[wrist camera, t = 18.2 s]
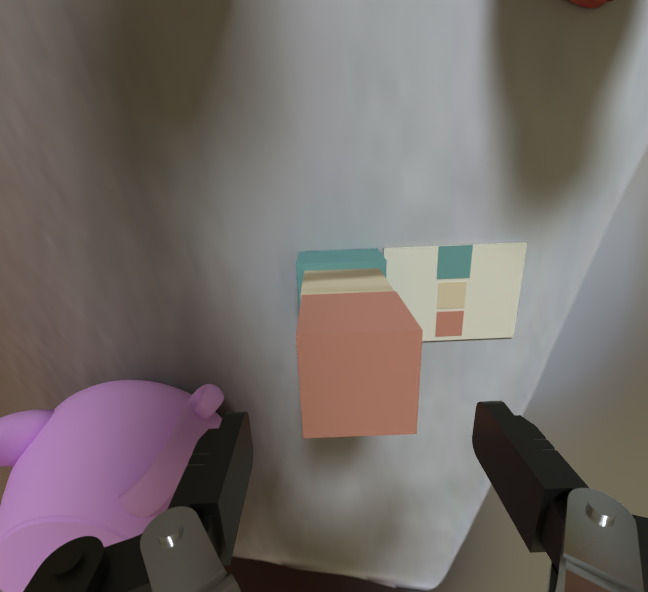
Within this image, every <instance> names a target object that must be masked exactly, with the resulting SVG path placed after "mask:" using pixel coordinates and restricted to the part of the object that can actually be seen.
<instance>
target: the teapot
mask: <svg viewBox="0 0 648 592" xmlns="http://www.w3.org/2000/svg"><path fill="white" fill-rule="evenodd" d="M223 400H224V395H223V392H222V391H221V389H220V388H219V387H218V386H216V385H213V384H205V385H203V386H201V387H200V388H198V389H197V390H196V391H195V392H194V393H193V394H192V395H191V394H190V393H188V392H185V391H183V390H181V389H178V388H176V387H172V386H169V385H166V384H162V383H157V382H152V381H142V380H118V381H110V382H105V383H102V384H98V385H94V386H91V387H89V388H86V389H84V390H82V391H79V392H77V393H75V394H74V395H72V396H70V397H69V398H67V399H66V400H64V401H63V402H62V403H61V404H60V405H58V406H57V407H56V408H55V409H54V410H29V411H23V412H17V413H13V414H10V415H7V416H4V417H1V418H0V466H14V467H13V469H12V471H11V474H10V477H9V479H8V482H7V485H6V489H5V492H4V495H3V498H2V502H1V506H0V589H1V590H2V592H23V591H24V589H25V588H26V586H27V585H28V583H29V582H30V580H31V578H32V577H33V575H34V574H35V572H36V571H37V569H38V568H39V566H40V565H41V564H42V562H43V561H44V560H45V559H46V558H47V557H48V556H49V555H50V554H51V553H52V552H54V551H55V550H56V549H57V548H59V547H60V546H62V545H63V544H65V543H67V542H69V541H71V540H73V539H76V538H79V537H83V536H94V537H97V538H99V539H100V540H101V542H102V543H103V546H104V547H107V546H110V545H113V544H115V543H118V542H121V541H124V540H127V539H130V538H133V537H135V536H138V535H140V534H142V533H143V531H144V530H145V528H146V526H147V525H148V524H149V523H150V522H151V521H152V520H153V519H154V518H155V517H156V516H157V515H159V514H160V513H162V512H164V511H166V510H167V508H168V506H169V504H170V502H171V500H172V497H173V495H174V493H175V491H176V488H177V486H178V484H179V482H180V479H181V477H182V475H183V473H184V470H185V468H186V466H187V465H188V461H189V459H190V457H191V455H192V452H193V450H194V448H195V446H196V443H197V441H198V439H199V438H200V437H201V436H202V435H203V434H204V433H205V432H206V431H207V430H208V429H213V428H219V426H220V423H221V421H222V418H221V417H220V416H219V415H218V414H217V413H216V412H215V411H216V410H217V409H218V408H219V406H220V405H221V404H222V402H223Z"/></svg>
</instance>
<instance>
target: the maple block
mask: <svg viewBox="0 0 648 592" xmlns="http://www.w3.org/2000/svg"><path fill="white" fill-rule="evenodd" d="M386 291H394V289H393V288H392V286H391V285H390V284H389V282H388V281H387V279H386V278H385V276H384V275H383V273H382V272H381V270H380V269H379V268H367V269H339V270H311V271H304V275H303V282H302V288H301V298H302V295H310V294H336V293H361V292H386Z"/></svg>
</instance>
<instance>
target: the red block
mask: <svg viewBox="0 0 648 592" xmlns="http://www.w3.org/2000/svg"><path fill="white" fill-rule="evenodd" d="M422 334H423V330H422V328H421V327H420V325H419V324H418V323H417V321H416V320H415V318H414V317H413V315H412V314H411V312H410V311H409V309H408V308H407V306H406V305H405V304H404V302H403V301H402V299H401V298H400V296H399V295H398V293H397V292H396V291H386V292H361V293H336V294H310V295H302V298H301V305H300V311H299V318H298V325H297V332H296V341H297V356H298V370H299V385H300V399H301V414H302V428H303V438H326V437H351V436H375V435H400V434H417V417H418V401H419V384H420V367H421V350H422Z"/></svg>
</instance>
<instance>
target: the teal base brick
mask: <svg viewBox="0 0 648 592" xmlns="http://www.w3.org/2000/svg"><path fill="white" fill-rule="evenodd" d="M386 265H387V260H386V259H385V258H384V256H383V255H382V254H381V253H380V252H379V250H378V249H354V250H331V251H309V252H299V255H298V259H297V263H296V270H297V285H298V299H299V311H300V305H301V288H302V282H303V275H304V271H311V270H339V269H367V268H379V269H380V270H381V272H382V273H383V275H384V276H385V278H386Z"/></svg>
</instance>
